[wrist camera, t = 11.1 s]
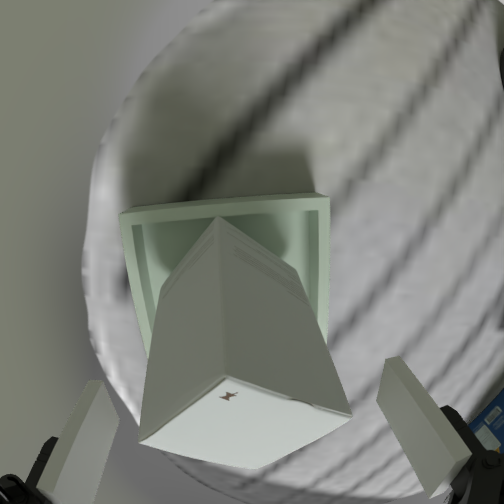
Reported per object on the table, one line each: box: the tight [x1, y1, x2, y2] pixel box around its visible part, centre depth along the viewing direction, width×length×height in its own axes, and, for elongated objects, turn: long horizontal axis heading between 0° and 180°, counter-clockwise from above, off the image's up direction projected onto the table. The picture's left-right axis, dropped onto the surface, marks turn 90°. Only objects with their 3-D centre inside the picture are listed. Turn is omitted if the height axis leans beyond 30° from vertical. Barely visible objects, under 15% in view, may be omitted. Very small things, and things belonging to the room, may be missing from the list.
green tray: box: [118, 192, 330, 358], centre depth 29 cm, size 17×22×4 cm
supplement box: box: [138, 216, 353, 470], centre depth 21 cm, size 9×9×15 cm
